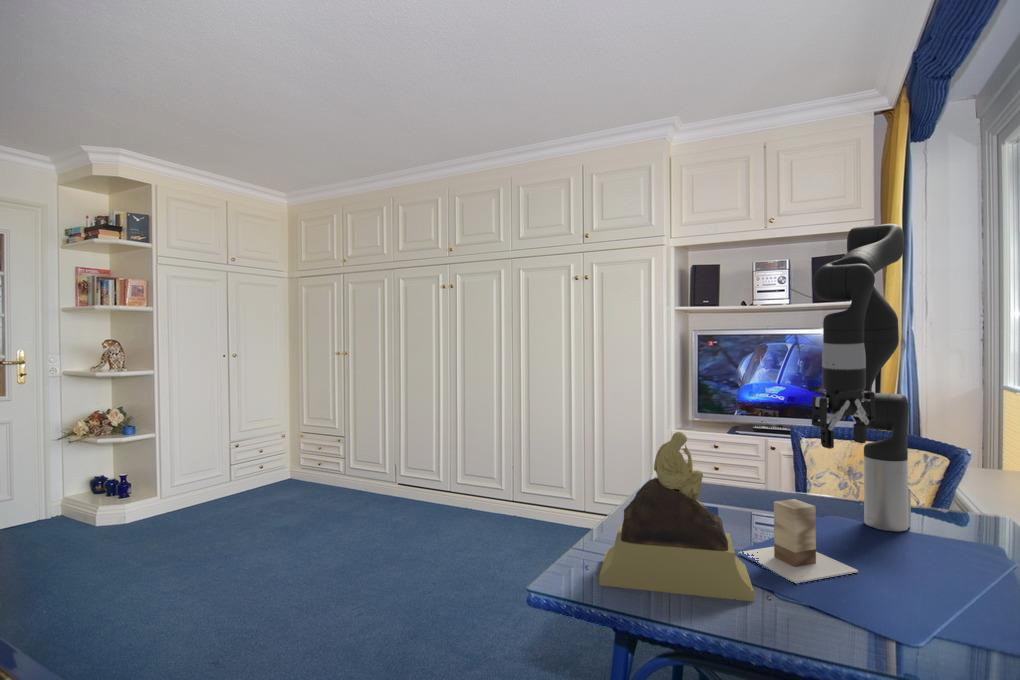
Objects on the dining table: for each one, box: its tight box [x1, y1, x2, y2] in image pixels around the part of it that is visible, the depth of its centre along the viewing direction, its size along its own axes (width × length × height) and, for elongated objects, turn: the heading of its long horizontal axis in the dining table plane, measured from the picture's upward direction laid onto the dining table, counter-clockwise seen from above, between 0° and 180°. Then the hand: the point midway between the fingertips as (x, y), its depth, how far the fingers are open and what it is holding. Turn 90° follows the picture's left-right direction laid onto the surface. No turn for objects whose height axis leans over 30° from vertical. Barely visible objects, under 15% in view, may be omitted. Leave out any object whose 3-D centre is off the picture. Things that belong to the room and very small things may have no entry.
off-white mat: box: [738, 546, 859, 583], centre depth 120 cm, size 16×16×1 cm
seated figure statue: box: [598, 431, 755, 602], centre depth 114 cm, size 28×13×30 cm, turn 74°
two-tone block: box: [773, 498, 817, 567], centre depth 120 cm, size 6×6×12 cm
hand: (844, 445), depth 114 cm, fingers open, 8 cm apart
